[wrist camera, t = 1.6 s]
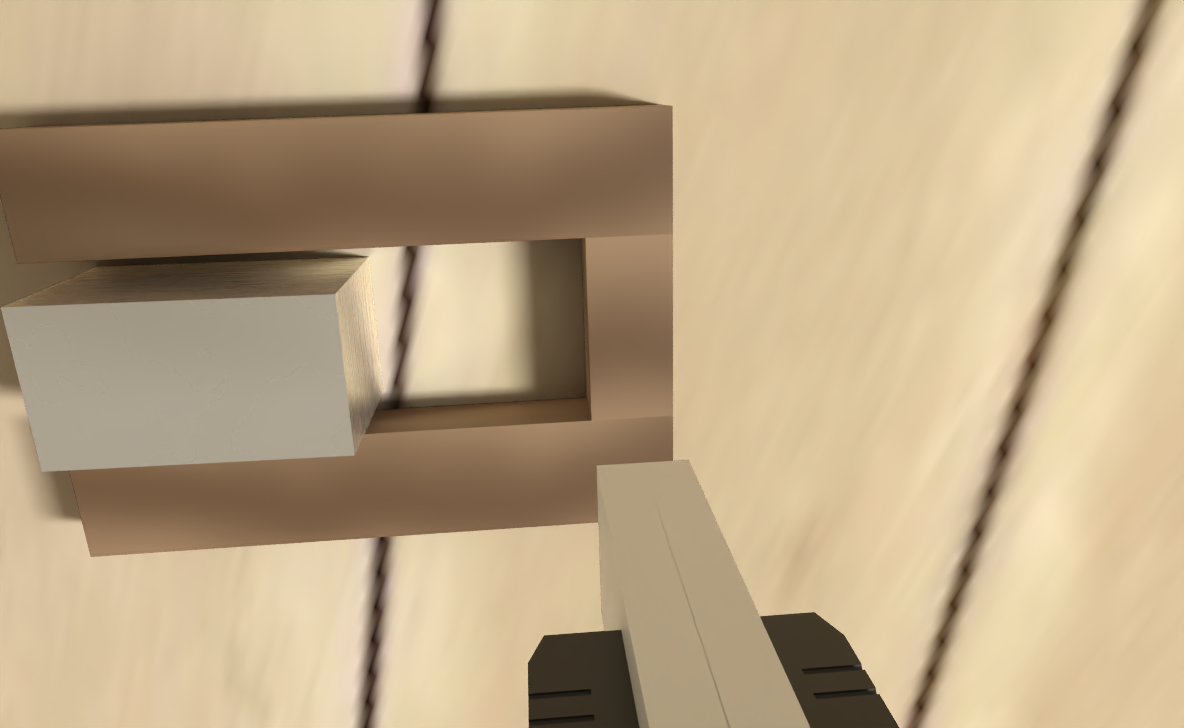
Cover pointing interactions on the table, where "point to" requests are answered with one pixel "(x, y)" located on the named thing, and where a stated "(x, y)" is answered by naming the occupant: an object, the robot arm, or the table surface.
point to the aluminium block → (198, 363)
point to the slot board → (366, 220)
